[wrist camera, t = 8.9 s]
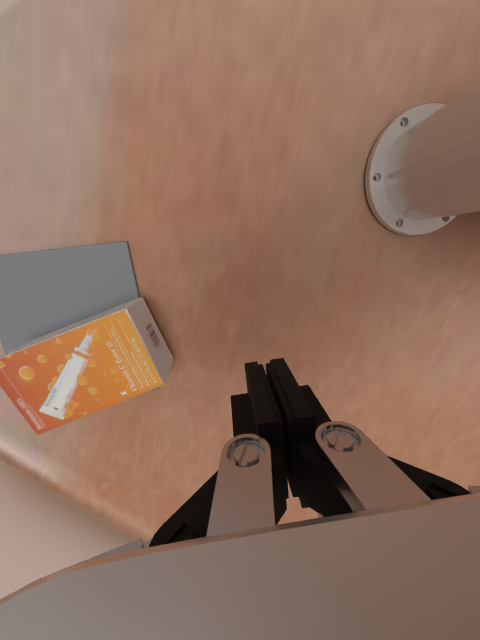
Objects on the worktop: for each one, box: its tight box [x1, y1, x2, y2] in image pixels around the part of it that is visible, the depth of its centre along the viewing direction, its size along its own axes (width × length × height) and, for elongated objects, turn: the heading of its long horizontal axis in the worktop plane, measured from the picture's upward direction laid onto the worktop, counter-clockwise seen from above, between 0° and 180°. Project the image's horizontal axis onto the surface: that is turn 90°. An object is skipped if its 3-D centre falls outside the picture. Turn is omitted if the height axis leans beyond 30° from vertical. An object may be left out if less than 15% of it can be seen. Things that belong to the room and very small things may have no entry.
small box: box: [0, 297, 174, 435], centre depth 26 cm, size 8×6×13 cm
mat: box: [0, 241, 159, 390], centre depth 28 cm, size 15×17×1 cm
